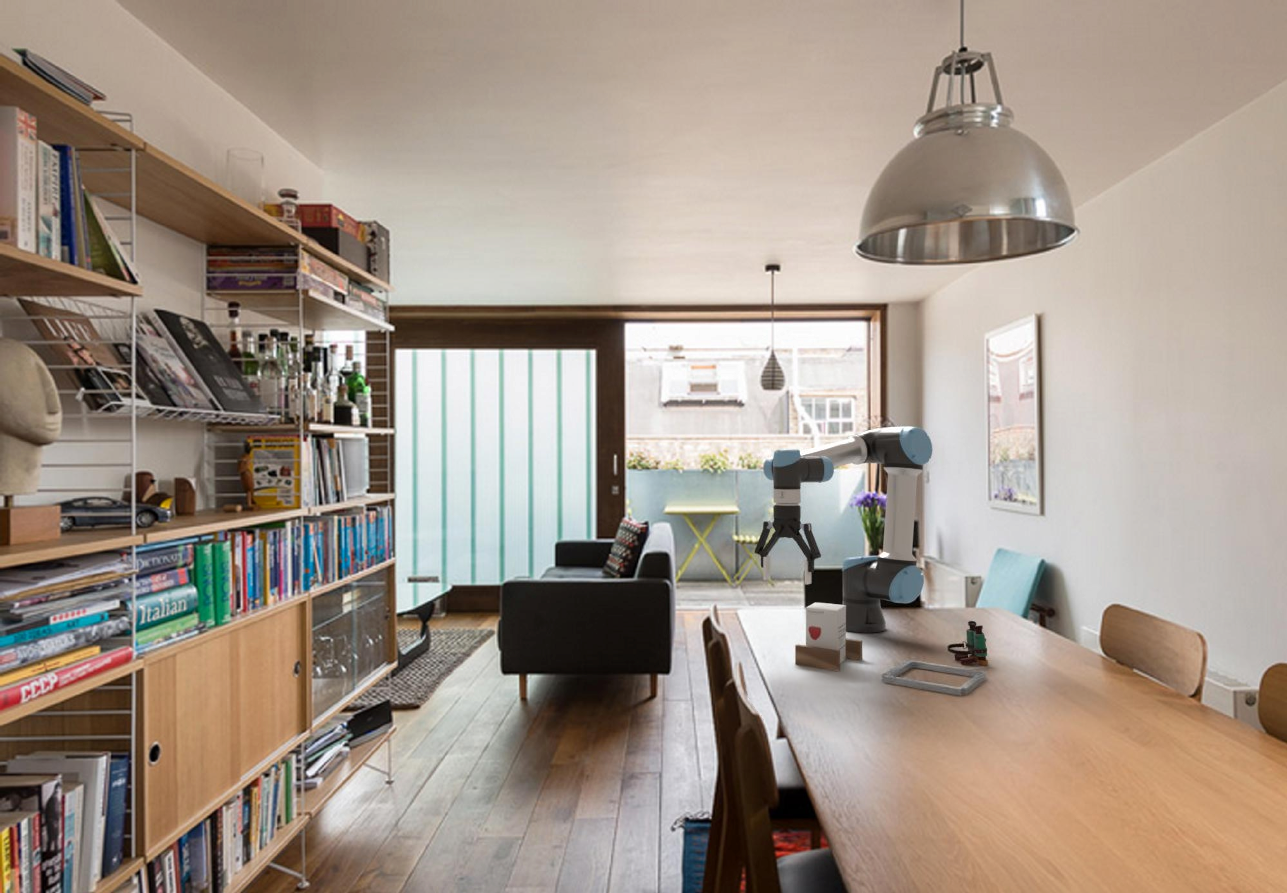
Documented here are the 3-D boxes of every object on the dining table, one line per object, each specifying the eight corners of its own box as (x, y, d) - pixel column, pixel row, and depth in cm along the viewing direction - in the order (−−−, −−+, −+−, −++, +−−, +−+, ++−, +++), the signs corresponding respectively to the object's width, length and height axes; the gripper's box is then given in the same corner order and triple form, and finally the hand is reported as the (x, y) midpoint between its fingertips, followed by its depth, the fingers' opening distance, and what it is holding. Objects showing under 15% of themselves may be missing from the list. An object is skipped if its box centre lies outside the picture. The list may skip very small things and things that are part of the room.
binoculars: (941, 622, 228) (977, 619, 228) (945, 661, 228) (981, 657, 228) (952, 629, 219) (990, 625, 219) (957, 669, 219) (995, 665, 219)
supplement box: (804, 662, 223) (804, 607, 223) (814, 655, 231) (814, 601, 231) (838, 666, 218) (838, 610, 218) (846, 659, 226) (846, 604, 226)
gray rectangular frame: (908, 665, 220) (908, 659, 220) (988, 677, 208) (988, 671, 208) (879, 682, 204) (879, 675, 204) (964, 696, 192) (964, 690, 192)
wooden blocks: (821, 652, 234) (821, 634, 234) (862, 658, 227) (862, 640, 227) (795, 664, 221) (795, 645, 221) (837, 671, 214) (837, 651, 214)
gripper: (742, 503, 236) (742, 579, 236) (821, 506, 221) (821, 587, 221) (755, 502, 242) (755, 576, 242) (833, 505, 227) (833, 584, 227)
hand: (787, 581), depth 232 cm, fingers open, 12 cm apart
